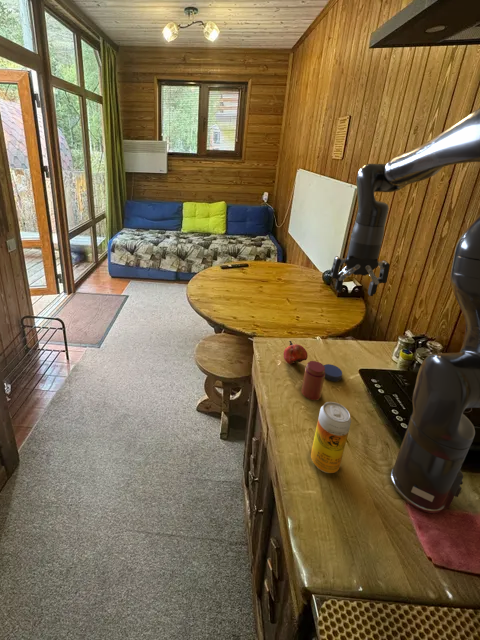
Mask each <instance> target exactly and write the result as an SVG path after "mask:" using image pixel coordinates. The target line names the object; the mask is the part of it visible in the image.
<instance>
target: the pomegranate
mask: <svg viewBox="0 0 480 640" xmlns="http://www.w3.org/2000/svg"><path fill="white" fill-rule="evenodd" d="M288 342H289V345H288V346H287V347H285V348H284V351H283V359H284V361H285V363H286V364H287V365H292V364H293V363H295V364H296V366H297V368H298V371H299V372H301V370H300V365H299V363H302V362H303V361H306V360H308V356H309V355H308V351H307V349H306V348H305V347H304V346H302V345H300V344H297V343H295V344H294V343H293V342H292V340H289V341H288Z"/></svg>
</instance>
